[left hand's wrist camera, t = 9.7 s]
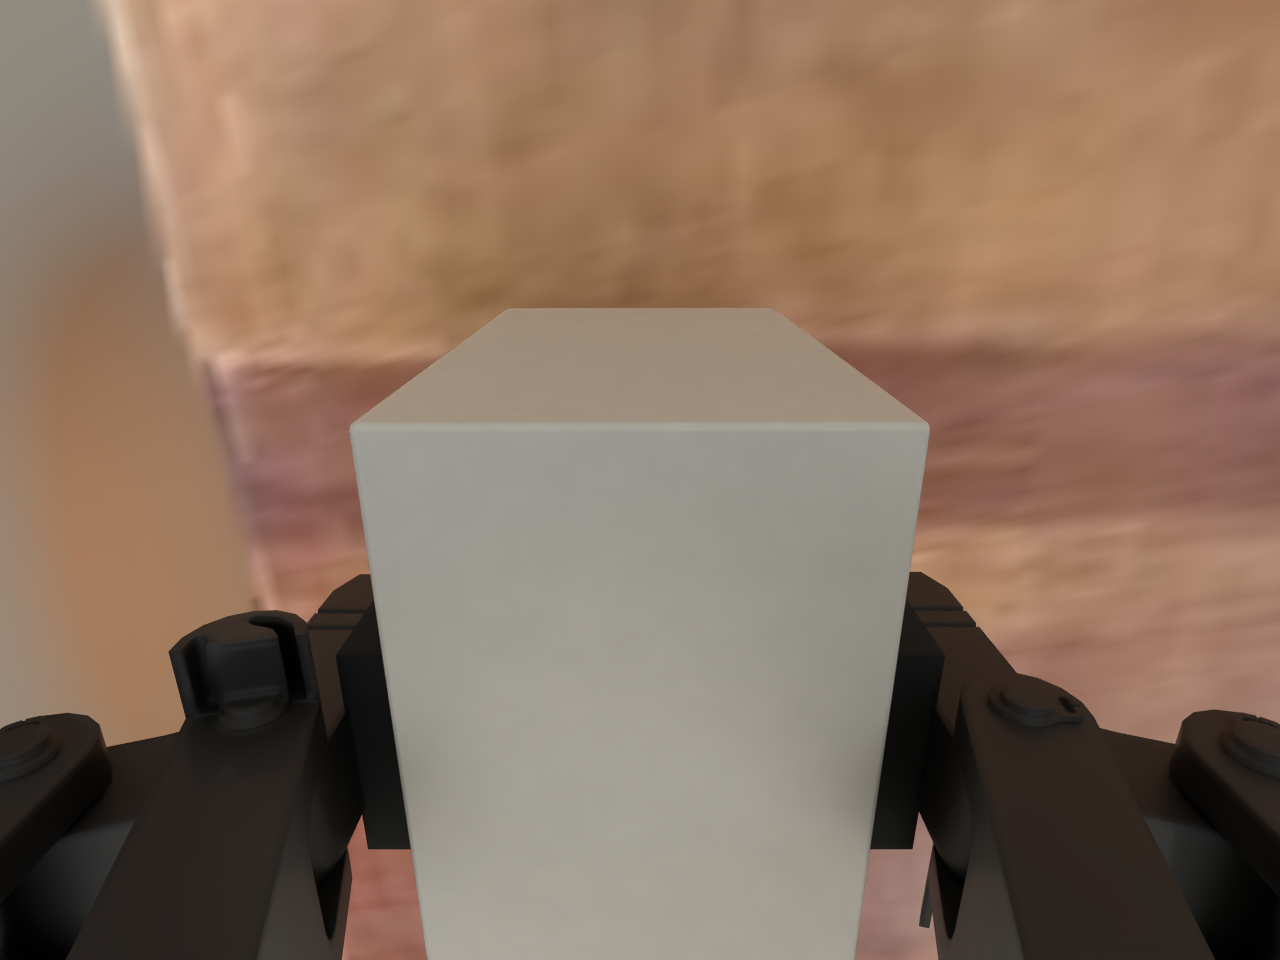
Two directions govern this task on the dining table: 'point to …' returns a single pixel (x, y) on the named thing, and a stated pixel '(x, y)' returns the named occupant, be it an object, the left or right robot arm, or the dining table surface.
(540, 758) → the post
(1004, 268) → the dining table surface
